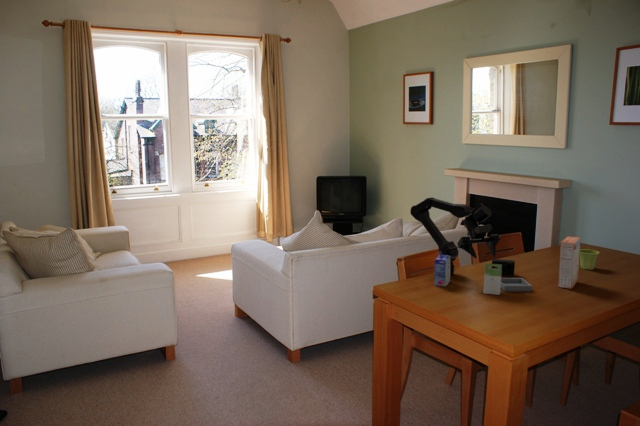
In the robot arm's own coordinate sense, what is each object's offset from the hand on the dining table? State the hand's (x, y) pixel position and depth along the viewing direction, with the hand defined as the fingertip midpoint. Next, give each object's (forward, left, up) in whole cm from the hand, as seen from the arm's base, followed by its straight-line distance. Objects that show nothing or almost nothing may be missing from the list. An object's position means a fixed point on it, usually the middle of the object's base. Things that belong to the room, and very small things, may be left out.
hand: (485, 257), depth 239 cm
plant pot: (+61, +31, -14) cm, 70 cm away
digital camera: (+15, +20, -14) cm, 29 cm away
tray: (+13, 0, -14) cm, 19 cm away
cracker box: (+39, +4, -14) cm, 42 cm away
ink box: (+1, -8, -14) cm, 16 cm away
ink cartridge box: (-17, +7, -14) cm, 23 cm away
